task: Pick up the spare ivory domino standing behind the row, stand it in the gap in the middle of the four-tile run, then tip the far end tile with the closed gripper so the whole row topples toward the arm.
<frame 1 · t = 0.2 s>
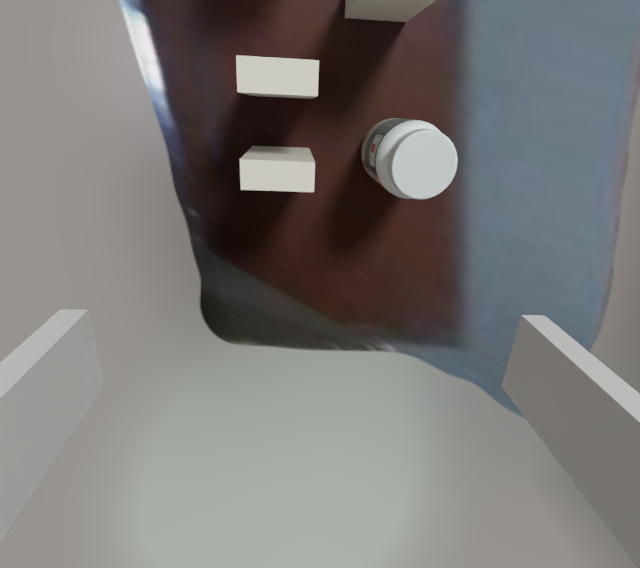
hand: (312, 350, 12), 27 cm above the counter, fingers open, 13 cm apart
domino 4: (281, 84, 34), on the counter
pill bottle: (390, 151, 37), on the counter
domino 5: (281, 158, 36), on the counter
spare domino: (376, 5, 32), on the counter
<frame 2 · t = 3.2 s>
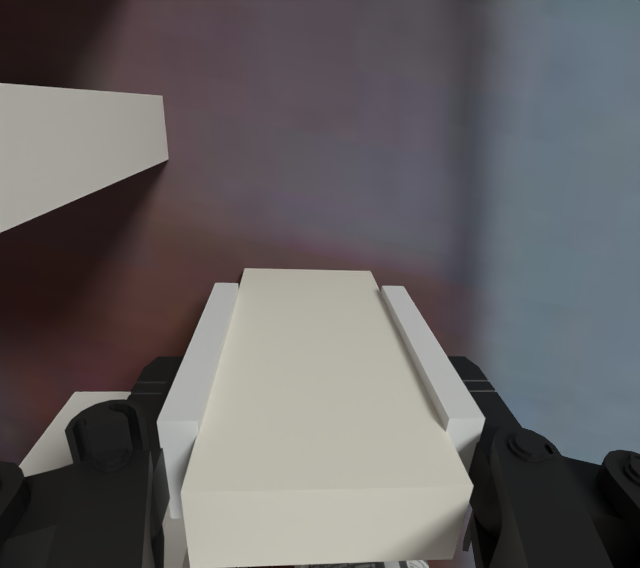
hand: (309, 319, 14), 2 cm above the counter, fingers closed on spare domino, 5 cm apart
domino 2: (88, 124, 13), on the counter
domino 4: (136, 409, 18), on the counter
pill bottle: (346, 479, 21), on the counter
domino 5: (152, 501, 21), on the counter
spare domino: (307, 292, 16), on the counter, touching gripper
when the fingers open (3 cm above the counter, at t = 7.2 s): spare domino stays where it is, on the counter.
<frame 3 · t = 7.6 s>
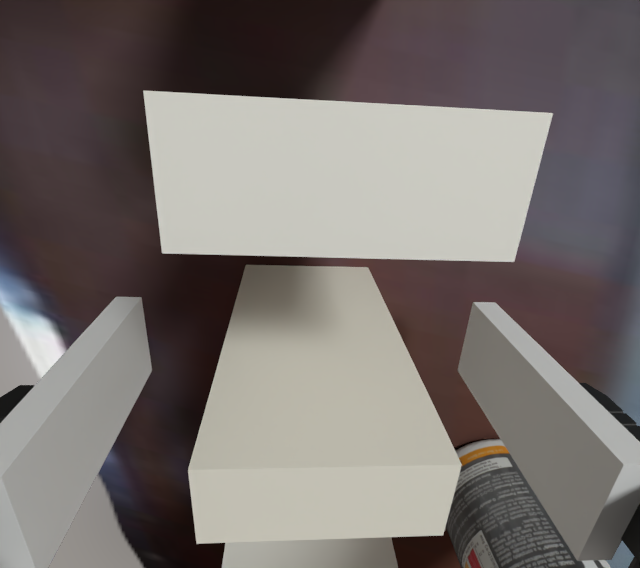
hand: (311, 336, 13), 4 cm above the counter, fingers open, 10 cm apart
domino 2: (312, 135, 14), on the counter
domino 4: (302, 401, 19), on the counter
pill bottle: (479, 469, 22), on the counter
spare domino: (306, 288, 17), on the counter
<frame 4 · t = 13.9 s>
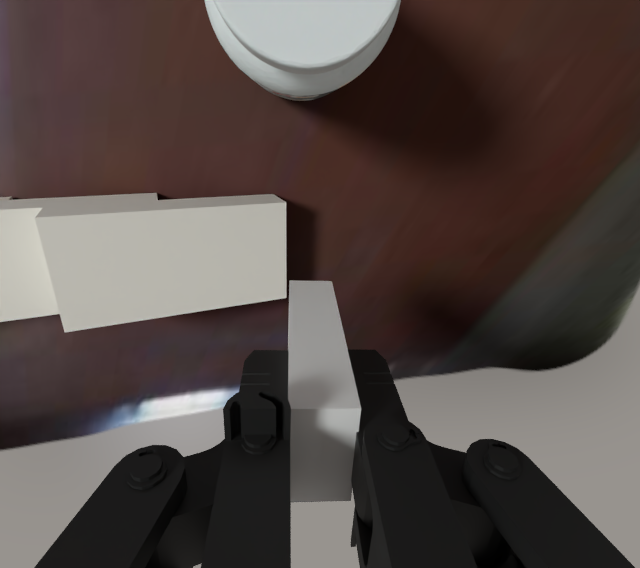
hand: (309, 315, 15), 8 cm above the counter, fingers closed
domino 4: (164, 246, 20), point 1 cm above the counter, tilted 72°, touching domino 5, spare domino
pill bottle: (299, 30, 18), on the counter
domino 5: (280, 246, 21), point 1 cm above the counter, tilted 70°, touching domino 4
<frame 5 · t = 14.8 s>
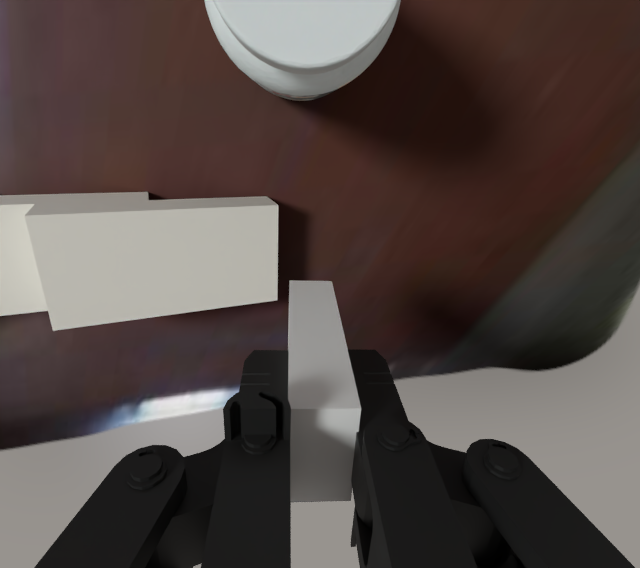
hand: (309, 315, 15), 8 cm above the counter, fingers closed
domino 4: (154, 245, 20), point 1 cm above the counter, tilted 72°, touching domino 5
pill bottle: (299, 30, 18), on the counter
domino 5: (272, 248, 21), point 1 cm above the counter, tilted 71°, touching domino 4
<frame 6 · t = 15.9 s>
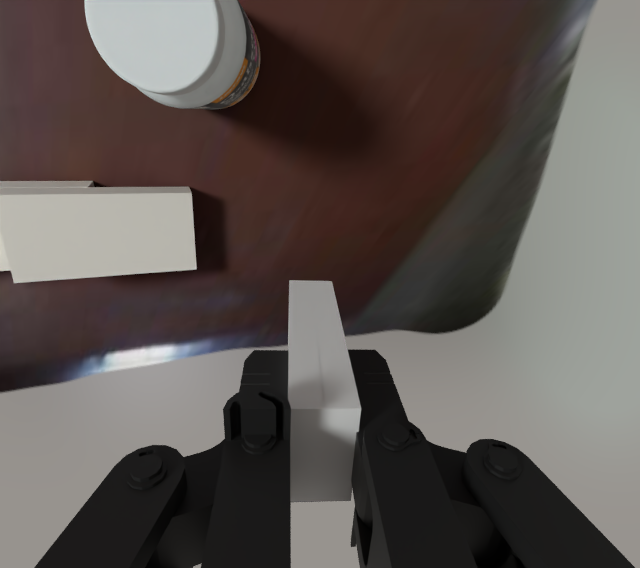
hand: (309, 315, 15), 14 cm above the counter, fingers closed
domino 4: (97, 223, 26), point 1 cm above the counter, tilted 74°, touching domino 5, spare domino
pill bottle: (212, 55, 23), on the counter
domino 5: (192, 228, 26), point 1 cm above the counter, tilted 71°, touching domino 4
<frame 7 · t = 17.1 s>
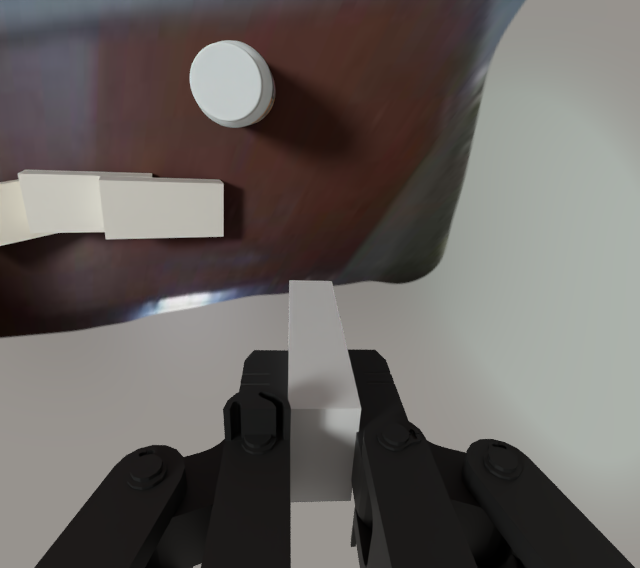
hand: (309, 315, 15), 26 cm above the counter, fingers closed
domino 4: (154, 202, 38), point 1 cm above the counter, tilted 74°, touching domino 5, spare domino
pill bottle: (243, 89, 35), on the counter
domino 5: (221, 208, 38), point 1 cm above the counter, tilted 72°, touching domino 4
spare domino: (55, 203, 37), point 1 cm above the counter, tilted 65°, touching domino 2, domino 4
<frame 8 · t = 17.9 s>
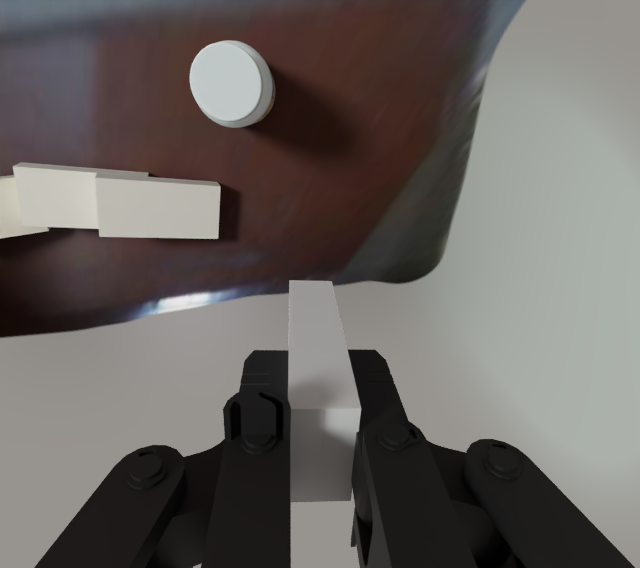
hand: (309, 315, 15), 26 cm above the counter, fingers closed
domino 4: (148, 201, 37), point 1 cm above the counter, tilted 77°, touching domino 5
pill bottle: (243, 89, 35), on the counter
domino 5: (217, 210, 38), point 1 cm above the counter, tilted 72°, touching domino 4
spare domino: (40, 202, 37), point 1 cm above the counter, tilted 66°
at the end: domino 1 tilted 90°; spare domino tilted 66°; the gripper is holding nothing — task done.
